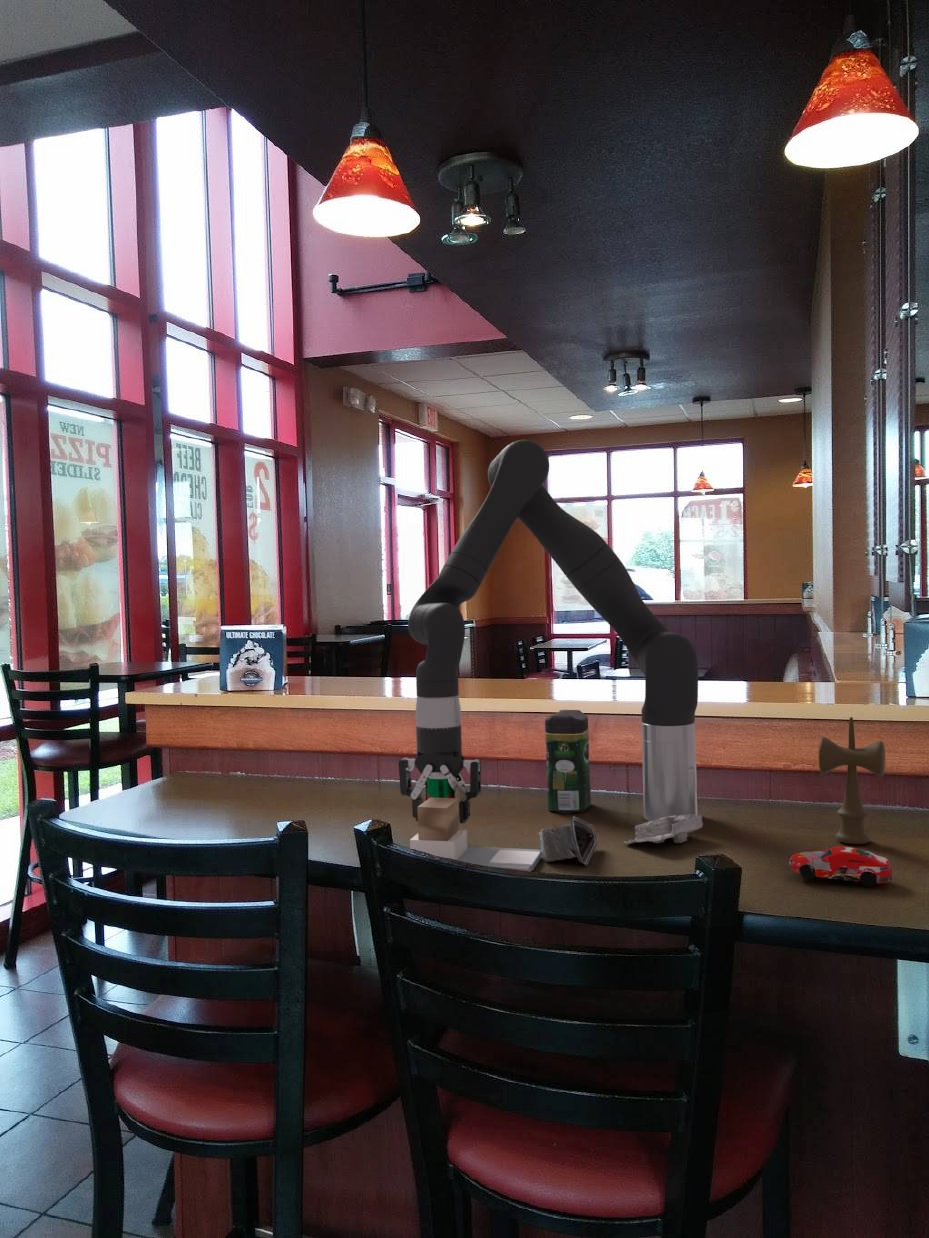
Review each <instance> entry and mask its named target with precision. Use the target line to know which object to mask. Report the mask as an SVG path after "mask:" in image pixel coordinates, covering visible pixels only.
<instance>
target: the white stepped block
mask: <svg viewBox="0 0 929 1238" xmlns="http://www.w3.org/2000/svg"><path fill="white" fill-rule="evenodd" d="M410 849H416V850H419V851H423V852H426V853H429V854H432V855H435V856H440V857H444V858H452V859H458V860H463V861H467V862H471V863H475V864H480V865H488V866H495V867H501V868H513V869H520V870H533V871H534V870H535V868H536V867H537V865H538V864H539V862H540V860H541V859H542V853H541V849H534V848H533V849H531V848H511V847H509V848H508V847H495V846H494V847H492V846H491V847H490V846H474V845H472V846H471V845H470V846H469V845H468V830H467V829H459V831H458V832H457V833H456V834H454V835H453V836H452V837H451V838H450V839H449V840H448V841H436V840H418V833H416V834H415V835H414V836H413V837H412V838H410V839H409V850H410Z"/></svg>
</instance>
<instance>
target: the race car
mask: <svg viewBox="0 0 929 1238" xmlns="http://www.w3.org/2000/svg"><path fill="white" fill-rule="evenodd" d="M788 865H789V868H790V870H791V871H793V872H794V873H796V874H800V875H801V877H803V878H804V879H813V877H814V876H815V877H816V878H824V879H832V880H833V879H834V880H840V881H849V882H857V883H858V882H859V883H860V882H861V883H862V884H863V885H865V886H868V887H871V886H873V885H874V884H885V883H889V882H892V881H893V880H892V877H893V869H892V868H891V867H890V861H889V859H888V858H887V857H884V856H881V855H879V854H875V853H873V852H871V851H869V850H865V849H861V848H857V847H850V846H838V845H837V846H832V847H830V848H828V847H827V848H826V849H823V850H819V851H818V850H817V851H816V850H815V851H800V852H797V853H794V854H792V855H791V856H790V858H789V861H788Z"/></svg>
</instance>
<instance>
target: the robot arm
mask: <svg viewBox="0 0 929 1238" xmlns="http://www.w3.org/2000/svg"><path fill="white" fill-rule="evenodd" d="M549 461H550V460H549V457H548V454H547V452H546V451H545V449H544V448H543V447H542V446H541V445H540V444H539V443H537V442H535V441H533V440H530V439H520V440H516V441H513V442H511V443H509V444H508V445H507V446H505V447H504V448H503V449H502V450H501V451H500V452H498V454H497V455H496V457H495V458H493V460H491V462H490V464H489V466H488V469H487V480H488V483H489V487H490V490H489V491H488V494H487V496H486V498H485V500H484V502H483V503H482V504H481V507H480V508H479V510H478V511H477V512H476V514H475V515H474V517H473V519H472V520H471V521H470V523H469V524H468V526H467V527H466V529H465V530H464V531H463V533H462V534H461V535H460V537H459V539H458V540H457V542H456V544H455V545H454V547H453V548H452V550H451V552H450V553H449V555H448V558H447V559H446V561H445V563H444V565H443V566H442V568H441V570H440V573H439V574H438V576H437V577H436V578H435V579H434V580H433V581H432V582H431V583H430V585H429V586H428V587H427V588H426V590H425V591H424V592H423V593H422V594H421V596H420V597H419V598H418V600H417V601H416V602H415V604H414V605H413V607H412V609H411V611H410V613H409V616H408V621H407V629H408V633H409V635H410V637H411V638H412V639H413V640H414V641H415V642H416V643H419V644H420V645H421V644H422V645H426V654H425V659H424V660H422V661H421V662H419V663H418V665H417V667H416V672H415V673H416V674H415V675H416V677H415V678H416V679H415V680H416V704H415V719H414V720H415V735H416V737H415V738H416V756H415V758H409V757H408V756H407V757H403V758H402V759H400V760H399V761H398V774H399V776H398V777H399V789H400V794H401V796H407V797H410V799H411V806H412V807H411V809H412V811H411V812H412V813H411V814H412V817H413V819H415V821H416V822H418V808H417V807H418V806H419V805H421V804H422V803H423V802H424V797H422V795H423V793H424V791H426V790H425V783H426V778H427V777H428V776H429V775H430V773H431V772H432V771H436V772H442V773H443V775H444V776H446V777H447V778H448V782H449V784H450V785H451V787H452V789H453V790H454V791H455V792H456V796H458V797H457V798H458V799H459V800H458V804H459V824H465V823H466V822H467V820H469V819H470V817H471V799H475V798H477V796H479V795H480V794H481V793H482V761H481V759H480V758H476V759H475V760H472V759H470V760H469V759H465V758H464V756H463V747H462V746H463V743H462V741H463V740H462V738H463V737H462V710H461V702H460V695H459V694H460V689H459V688H460V687H459V667H460V662H461V660H462V654H463V650H464V649H463V648H464V644H465V637H466V636H465V635H466V625H465V621H464V617H463V614H462V612H461V611H460V609H459V607H460V606H461V604H463V603H465V602H468V601H469V600H471V599H473V597H475V595H476V594H477V592H478V590H479V589H480V587H481V586H482V583H483V581H484V580H485V577H486V576H487V574H488V572H489V570H490V568H491V566H492V564H493V562H494V560H495V558H496V557H497V554H498V553H499V550H500V549H501V548H502V544H503V542H504V541H505V540H506V537H507V535H508V533H509V531H510V530H511V527H512V526H513V524H514V523H515V521H516V520H517V518H518V519H519V521H520V522H522V524H523V525H524V526H525V527H526V528H527V529H528V530H529V531H530V532H531V533H532V535H533V536H534V537H535V538H536V540H537V541H538V542H539V544H540V545H541V546H542V548H543V549H544V550H545V551H546V552H547V554H548V555H549V556H550V557H551V558H552V560H553V561H554V562H555V564H556V565H557V566H558V568H560V570H561V572H562V573H563V574H564V576H565V577H566V578H567V579H568V581H569V582H570V583H571V584H572V585H573V587H574V588H575V589H576V590H577V592H578V593H579V594H580V595H581V596H582V598H583V599H585V600H586V602H587V604H589V605H590V606H591V607H592V608H593V609H594V610H595V611H596V613H597V614H598V615H599V616H600V617H602V619H603V620H604V621H605V622H606V623H607V624H608V625H609V626H610V627H611V628H612V629H613V631H614V632H615V633H616V635H617V636H618V637H619V639H620V640H621V642H622V643H623V645H624V646H625V648H626V649H627V651H628V652H629V654H630V655H631V657H632V659H633V660H634V662H635V663H636V665H637V667H638V669H639V670H640V672H641V673H642V674H643V675H644V676H645V677H644V679H645V687H644V688H645V689H644V691H645V692H644V693H645V694H644V696H645V697H644V703H643V705H642V707H641V745H642V746H641V749H642V750H641V751H642V752H641V754H642V794H643V796H642V797H643V798H642V799H643V805H642V806H643V818H644V819H645V820H646V821H647V822H649V821H653V820H658V819H659V818H663V817H666V816H673V815H688V814H689V815H691V814H696V815H698V789H697V788H698V785H697V783H698V781H697V780H698V779H697V777H698V776H697V761H696V724H695V723H696V717H695V716H696V710H697V707H698V701H699V700H698V698H699V663H698V655H697V650H696V648H695V646H694V644H693V643H692V641H691V640H690V639H689V638H687V637H686V636H685V635H682V634H679V633H676V632H672V631H670V629H668V628H667V627H666V626H665V625H664V624H663V623H662V622H661V621H660V619H658V617H656V616H655V614H654V613H653V611H651V609H649V607H648V606H647V604H646V603H645V602H644V601H643V599H642V597H641V596H640V593H639V591H638V589H637V587H636V585H635V583H634V581H633V579H632V577H631V575H630V573H629V571H628V569H627V568H626V566H625V565H624V563H623V562H622V560H621V559H620V558H619V556H618V555H617V554H616V553H615V551H614V550H613V549H612V548H611V547H610V545H609V544H608V543H607V541H606V540H605V539H604V538H603V537H602V536H601V535H600V534H599V533H597V531H596V530H594V529H593V528H591V527H590V526H588V525H587V524H586V523H584V522H582V521H580V520H579V519H577V518H576V517H574V516H572V515H571V514H570V513H568V512H567V511H566V510H565V509H563V508H562V507H561V506H560V505H559V504H558V503H557V501H556V500H555V499H554V498H553V497H552V496H551V494H550V493H549V492H548V490H547V489H546V488H545V486H544V483H545V482H546V480H547V479H548V475H549V471H550V462H549ZM414 766H415V768H416V769H417V770H418V772H419V774H421V775H420V776H419V778H418V780H417V782H416V783H415V787H412V786H413V782H412V771H413V770H414ZM464 768H465V769H466V772H467V773H468V774H469V775H470V777H469V779H470V780H469V781H470V783H469V784H470V785H469V789H468V787H467V785H466V783H465V780H464V779H463V776H462V775H461V774H460V773H461V772H462V770H463V769H464ZM450 777H451V778H450Z"/></svg>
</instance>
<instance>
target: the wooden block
mask: <svg viewBox="0 0 929 1238" xmlns="http://www.w3.org/2000/svg"><path fill="white" fill-rule="evenodd" d="M417 808H418V821H417V832H418V833H417V834H418V840H436V841H448V840H449V839H450V838H451V837H452V836H453V835H454V834H456V833H457V832H458V831H459V830H460V821H459V797H456V798H433V797H430V798H429V799H428V800H426V799H425V801H423V803H422V804H421V805H419V806H418V807H417Z"/></svg>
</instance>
